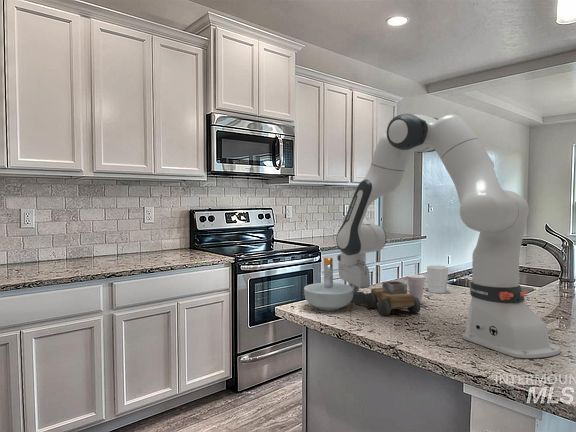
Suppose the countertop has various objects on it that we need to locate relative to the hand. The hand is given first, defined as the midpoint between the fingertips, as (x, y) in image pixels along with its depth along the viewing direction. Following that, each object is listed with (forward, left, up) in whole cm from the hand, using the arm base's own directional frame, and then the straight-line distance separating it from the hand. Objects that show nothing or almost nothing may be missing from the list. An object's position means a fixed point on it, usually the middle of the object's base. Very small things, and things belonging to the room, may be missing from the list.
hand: (353, 295), depth 149 cm
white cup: (+2, -37, -2) cm, 37 cm away
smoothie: (-11, -19, -2) cm, 22 cm away
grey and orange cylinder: (-8, +13, +6) cm, 17 cm away
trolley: (-17, -6, -1) cm, 18 cm away
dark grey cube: (-5, 0, -2) cm, 5 cm away
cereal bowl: (-8, +13, -2) cm, 16 cm away
